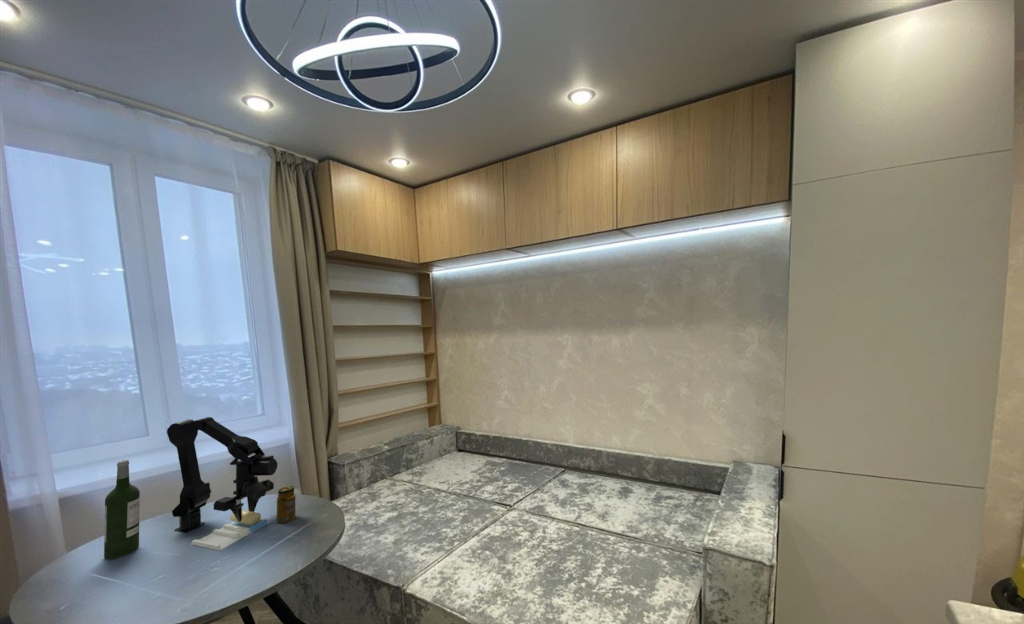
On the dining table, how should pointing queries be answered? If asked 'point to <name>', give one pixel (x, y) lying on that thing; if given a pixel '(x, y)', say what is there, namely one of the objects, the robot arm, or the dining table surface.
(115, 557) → the wine bottle
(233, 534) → the white slotted organizer tray
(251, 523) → the cream soap bar
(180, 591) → the dining table surface
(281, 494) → the condiment
